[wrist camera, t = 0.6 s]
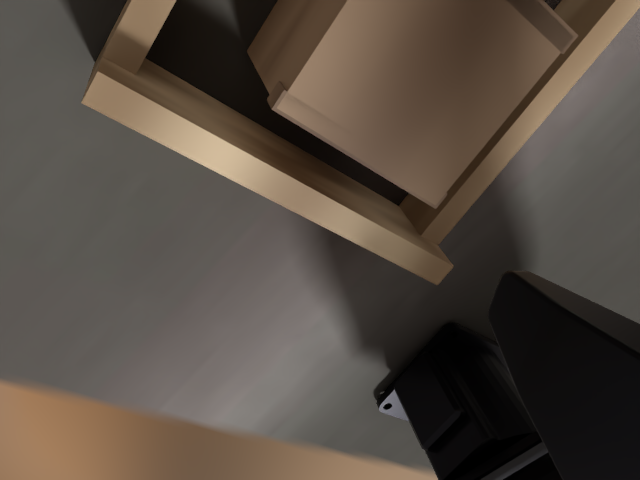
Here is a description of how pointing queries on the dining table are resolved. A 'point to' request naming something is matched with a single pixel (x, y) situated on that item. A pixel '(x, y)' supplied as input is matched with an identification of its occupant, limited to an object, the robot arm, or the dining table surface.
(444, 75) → the crate
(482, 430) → the robot arm
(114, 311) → the dining table surface
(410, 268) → the bay
